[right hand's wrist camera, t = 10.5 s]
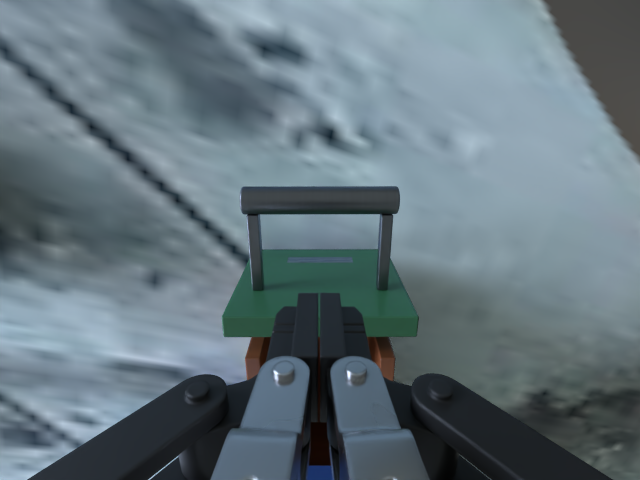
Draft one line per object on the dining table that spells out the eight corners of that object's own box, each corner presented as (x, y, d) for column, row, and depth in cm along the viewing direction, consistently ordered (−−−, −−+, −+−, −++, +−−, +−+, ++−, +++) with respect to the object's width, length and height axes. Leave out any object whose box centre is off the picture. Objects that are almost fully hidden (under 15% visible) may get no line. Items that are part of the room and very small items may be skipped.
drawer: (247, 168, 23) (207, 200, 15) (391, 168, 23) (432, 200, 15) (265, 417, 31) (245, 531, 22) (374, 417, 31) (395, 531, 22)
